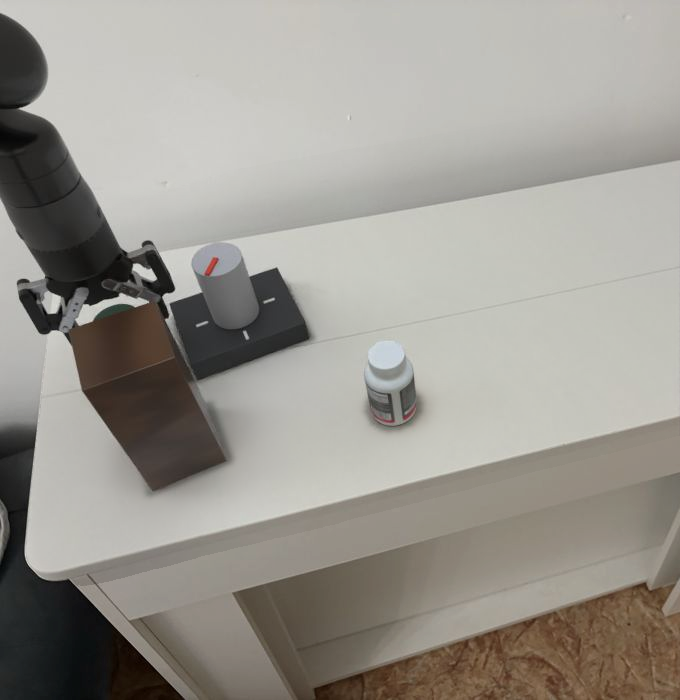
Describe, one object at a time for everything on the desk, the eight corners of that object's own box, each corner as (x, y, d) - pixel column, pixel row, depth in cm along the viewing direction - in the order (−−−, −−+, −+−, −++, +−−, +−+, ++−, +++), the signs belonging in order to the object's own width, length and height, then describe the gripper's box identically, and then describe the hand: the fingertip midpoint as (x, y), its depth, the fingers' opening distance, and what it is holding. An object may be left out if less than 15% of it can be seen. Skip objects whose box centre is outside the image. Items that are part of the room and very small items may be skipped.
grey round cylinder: (222, 293, 89) (201, 237, 82) (265, 298, 89) (248, 242, 82) (205, 326, 86) (182, 271, 79) (250, 332, 85) (230, 276, 78)
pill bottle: (407, 383, 84) (401, 328, 77) (424, 417, 81) (419, 364, 73) (363, 398, 83) (353, 344, 75) (379, 433, 80) (370, 381, 72)
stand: (152, 491, 75) (81, 391, 61) (137, 434, 79) (67, 329, 66) (227, 460, 77) (175, 357, 63) (207, 407, 82) (155, 300, 68)
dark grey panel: (198, 380, 84) (190, 363, 82) (176, 319, 91) (168, 302, 88) (309, 338, 89) (305, 321, 86) (281, 283, 95) (276, 266, 92)
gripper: (129, 180, 73) (179, 291, 85) (-22, 222, 69) (53, 332, 81) (144, 222, 69) (194, 333, 81) (-16, 270, 64) (63, 378, 77)
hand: (124, 332), depth 81 cm, fingers open, 8 cm apart
